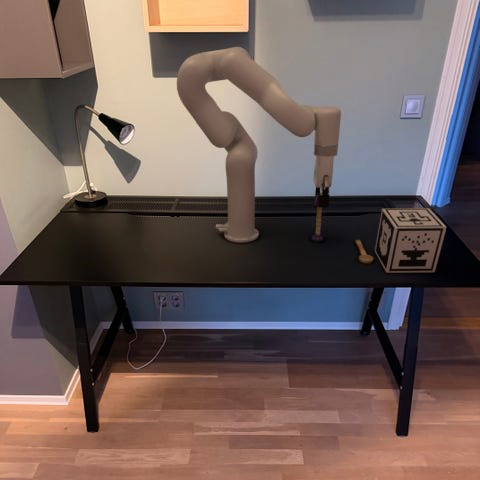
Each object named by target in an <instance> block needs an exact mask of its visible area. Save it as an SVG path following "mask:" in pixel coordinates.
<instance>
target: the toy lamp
mask: <svg viewBox="0 0 480 480" xmlns="http://www.w3.org/2000/svg"><path fill="white" fill-rule="evenodd" d="M319 195H320V192H318V193H317V194H316V196H315V195H314V199H313V203H312V205H313V207H316V209H317V210H316V219H315V221H316V222H315V233H314V234H313V235H312V236H311V241H312V242H314V243H320V242H323V241H324V236H323V235H322V234H321V229H322V228H321V226H322V212H323V210H322V209H323V207H319Z"/></svg>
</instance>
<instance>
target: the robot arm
mask: <svg viewBox="0 0 480 480" xmlns="http://www.w3.org/2000/svg"><path fill="white" fill-rule="evenodd" d="M178 70H179V71H178V73H177V76H176V90H177V94H178V97H179V100H180V102H181V104H182V105H183V106H184V108H185V109H186V111H187V112H188V113H189V115H190V116H191V117H192V119H193V120H194V122H195V124H196V125H197V126H198V127H199V128H200V130H201V131H202V132H203V134H204V135H205V137H206V138H207V139H208V141H209V142H210V144H211V145H212V146H214V147H216V148H218V149H224V150H225V151H226V153H227V154H226V157H225V177H226V192H227V193H226V195H227V222H226V223H224V224H221V223H216V224H215V230H217V231H218V232H219V233H222V232H223V237H224V238H225V239H226V241H230V242H231V243H239V244H240V243H241V244H243V243H249V242H253V241H255V240H257V239H258V238H259V237H260V232H259V230H258V228H257V229H256V225H255V223H256V174H255V173H256V162H257V159H258V155H259V153H258V148H257V145H256V143H255V141H254V140H253V139H252V137H251V136H250V135H249V133H248V132H247V130H246V129H245V128H244V126H243V125H242V123H241V122H240V120H239V119H238V118H237V117H236V116H235V115H234V114H233V113H232V112H230V111H225V110H222V109H221V108H220V107H219V105H218V104H217V102H216V101H215V99H214V98H213V97H212V95H210V94H209V92H208V91H207V89H206V85H207V84H208V83H212V82H220V81H226V80H228V81H229V82H230V83H231V84H232V85H233V86H235V87H236V88H238V89H239V90H240V91H241V92H243V93H244V94H245V95H247V96H248V97H249V98H250V99H252V100H253V102H255V103H257V105H259V107H261V108H262V110H264V111H265V112H266V113H267V114H268V115H269V116H270V117H271V118H272V119H273V120H275V121H276V123H278V124H279V125H281V127H283V128H284V129H286V130H287V131H288V132H289V133H291V134H292V135H294V136H296V137H299V138H305V137H308V136H310V135H311V134H312V133H313V132H314V139H313V140H314V142H313V156H314V157H315V160H314V169H313V183H314V186H315V192H314V193H315V194H314V197H315V196H316V194H317V193H318V192H320V195H319V207H322V208H328V207H329V206H330V204H329V203H330V197H331V195H330V188H331V187H332V183H333V173H334V161H335V160H334V159H335V157H337V156H338V152H339V151H338V150H339V140H340V129H341V120H342V119H341V118H342V111H341V109H340V108H339V107H337V106H329V105H327V106H313V105H307V104H302V105H300V104H299V103H298V102H296V101H295V100H294V99H292V97H291V96H290V95H288V93H287V92H286V91H285V90H284V89H283V87H282V86H281V84H280V82H279V81H278V80H277V78H276V77H274V76H273V75H272V74H271V73H270V72H269V71H267V70H266V69H264V68H263V67H262V66H261V65H259V64H258V63H257V62H256V61H255V60H254V59H253V58H252V57H251V56H250V54H249V52H248V51H247V50H246V49H245V48H244V47H240V46H232V47H228V48H223V49H217V50H210V51H203V52H199V53H195V54H192V55H191V56H189V57H187V58H186V59H185V60H184V61H183V62H182V64H181V66H180V67H179V69H178Z"/></svg>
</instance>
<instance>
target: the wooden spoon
mask: <svg viewBox="0 0 480 480" xmlns="http://www.w3.org/2000/svg"><path fill="white" fill-rule="evenodd" d="M354 243H355V245H356V246H357V248H358V250H359V254H360V255H359V256H358V261H359V262H360V263H362V264H372V263H373V261H374V257H373V256H372V255H370V254H367V252H366V250H365V248H364V246H363V243H362V240H361V239H356V240H355V242H354Z"/></svg>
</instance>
